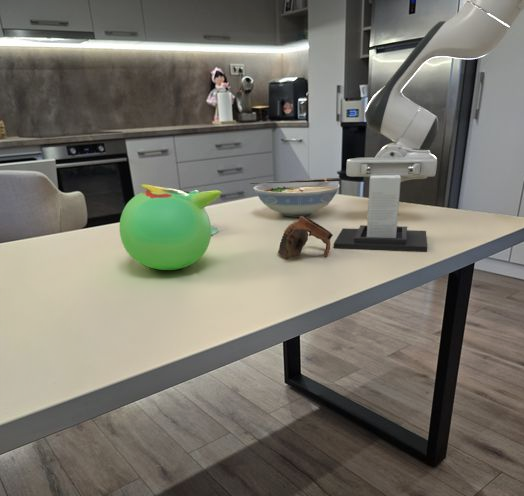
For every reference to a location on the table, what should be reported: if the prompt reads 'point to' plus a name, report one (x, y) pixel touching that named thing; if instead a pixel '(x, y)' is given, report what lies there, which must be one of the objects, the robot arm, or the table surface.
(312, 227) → the brown arched part
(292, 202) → the ramen bowl
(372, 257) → the table surface
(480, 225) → the table surface
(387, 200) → the cosmetic box
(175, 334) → the table surface
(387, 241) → the dock pad
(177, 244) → the toy bird
